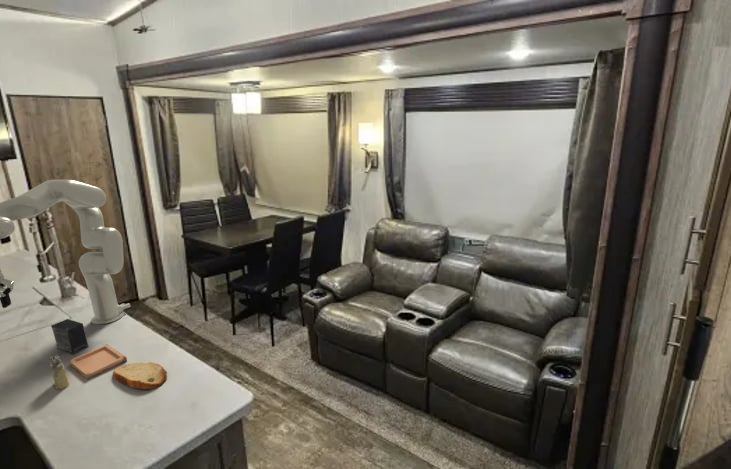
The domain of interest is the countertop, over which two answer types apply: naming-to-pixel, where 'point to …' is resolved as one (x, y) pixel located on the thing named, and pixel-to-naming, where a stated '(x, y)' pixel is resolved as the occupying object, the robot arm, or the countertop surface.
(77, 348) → the small box
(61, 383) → the lighter
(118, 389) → the countertop surface
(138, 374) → the slice of bread
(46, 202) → the robot arm
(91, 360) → the rest tray
